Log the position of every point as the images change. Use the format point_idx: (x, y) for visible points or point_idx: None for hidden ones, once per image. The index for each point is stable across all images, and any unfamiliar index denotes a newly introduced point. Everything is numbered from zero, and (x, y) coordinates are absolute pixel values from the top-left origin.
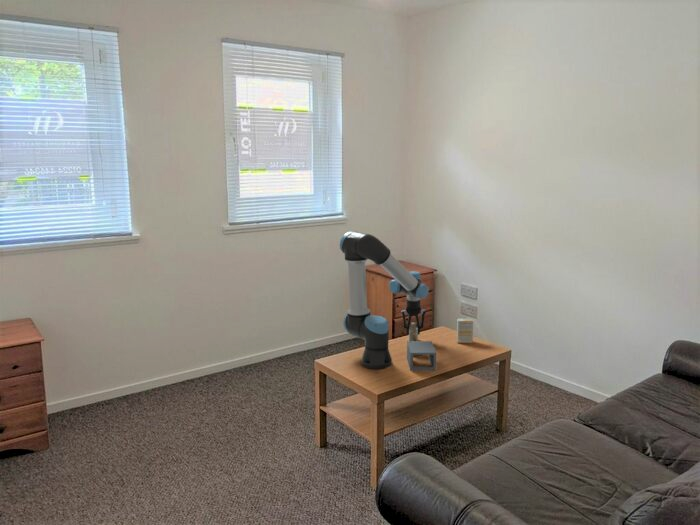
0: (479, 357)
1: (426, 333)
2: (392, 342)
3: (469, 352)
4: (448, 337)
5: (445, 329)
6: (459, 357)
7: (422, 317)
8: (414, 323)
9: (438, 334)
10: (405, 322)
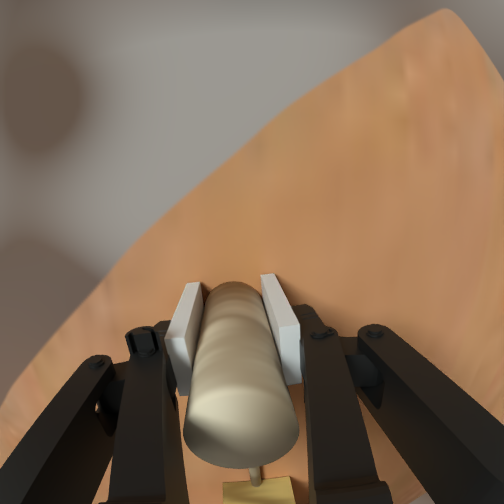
0: None
1: (366, 94)
2: (73, 355)
3: (489, 408)
4: (494, 203)
5: (472, 40)
6: None
7: (443, 493)
8: (262, 435)
9: (449, 130)
10: (105, 467)
